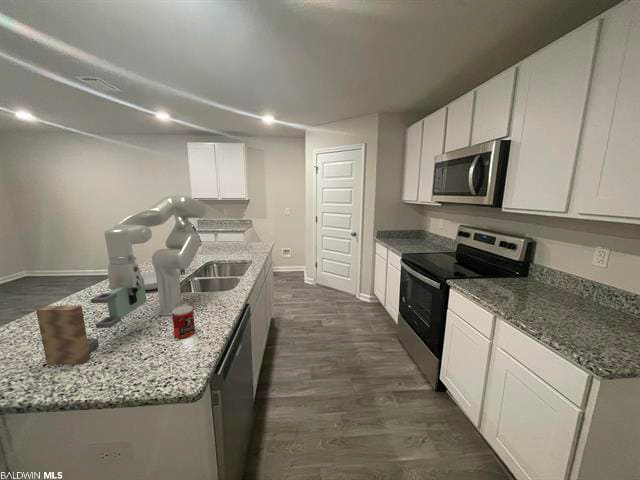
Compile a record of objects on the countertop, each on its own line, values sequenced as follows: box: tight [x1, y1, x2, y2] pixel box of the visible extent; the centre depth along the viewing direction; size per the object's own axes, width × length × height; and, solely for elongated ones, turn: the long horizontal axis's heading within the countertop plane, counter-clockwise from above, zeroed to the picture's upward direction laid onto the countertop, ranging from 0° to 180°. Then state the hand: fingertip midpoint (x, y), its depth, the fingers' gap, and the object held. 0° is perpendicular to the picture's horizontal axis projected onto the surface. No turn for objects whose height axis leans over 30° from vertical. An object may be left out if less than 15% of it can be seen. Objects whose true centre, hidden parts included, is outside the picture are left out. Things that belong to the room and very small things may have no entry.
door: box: [90, 278, 148, 329], centre depth 98 cm, size 5×21×11 cm, turn 1°
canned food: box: [171, 305, 196, 340], centre depth 103 cm, size 8×8×11 cm
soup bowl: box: [141, 271, 158, 291], centre depth 155 cm, size 24×24×7 cm
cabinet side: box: [35, 305, 100, 366], centre depth 88 cm, size 12×10×20 cm
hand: (128, 302), depth 101 cm, fingers closed on door, 3 cm apart
